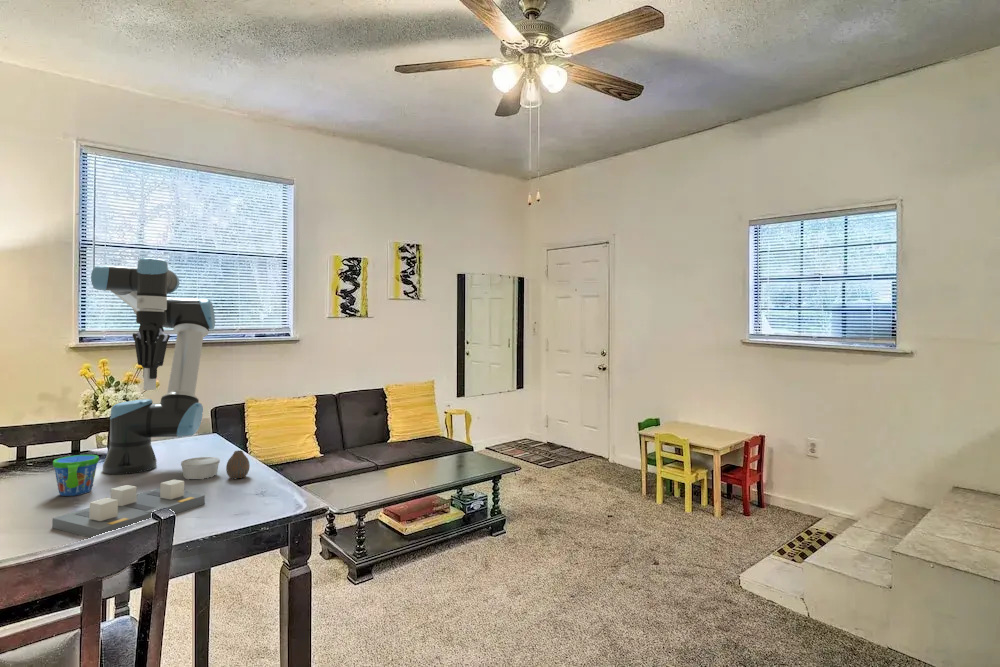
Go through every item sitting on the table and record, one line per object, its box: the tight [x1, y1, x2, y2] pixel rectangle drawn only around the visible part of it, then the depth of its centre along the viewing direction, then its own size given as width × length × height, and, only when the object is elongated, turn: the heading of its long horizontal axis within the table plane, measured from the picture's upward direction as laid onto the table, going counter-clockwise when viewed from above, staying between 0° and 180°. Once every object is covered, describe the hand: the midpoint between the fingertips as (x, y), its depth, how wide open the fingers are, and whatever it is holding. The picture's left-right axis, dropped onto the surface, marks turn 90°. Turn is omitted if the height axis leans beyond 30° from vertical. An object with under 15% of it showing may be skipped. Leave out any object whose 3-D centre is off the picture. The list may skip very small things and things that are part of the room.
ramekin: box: [180, 456, 221, 480], centre depth 175 cm, size 11×11×5 cm
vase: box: [225, 450, 251, 479], centre depth 175 cm, size 7×7×9 cm
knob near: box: [89, 497, 118, 521], centre depth 130 cm, size 4×4×4 cm
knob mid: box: [110, 484, 138, 506], centre depth 140 cm, size 4×4×4 cm
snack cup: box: [52, 454, 100, 497], centre depth 155 cm, size 16×10×10 cm
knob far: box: [159, 478, 185, 500], centre depth 147 cm, size 4×4×4 cm
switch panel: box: [51, 487, 206, 538], centre depth 139 cm, size 17×28×3 cm, turn 159°
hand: (149, 389), depth 158 cm, fingers closed
